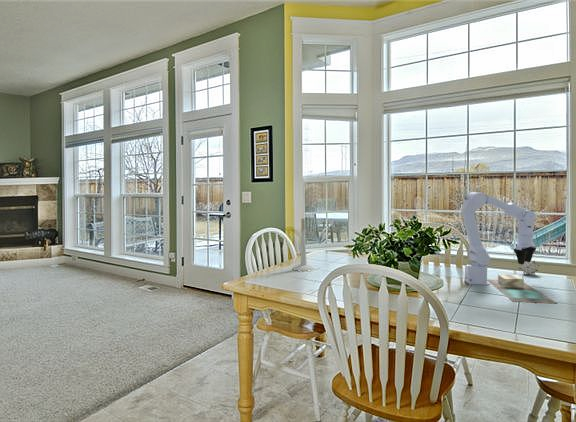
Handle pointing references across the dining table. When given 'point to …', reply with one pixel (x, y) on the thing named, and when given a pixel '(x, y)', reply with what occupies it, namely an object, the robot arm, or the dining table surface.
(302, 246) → the candlestick
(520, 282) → the birch block
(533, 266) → the game die
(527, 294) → the shallow brown tray
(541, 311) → the dining table surface
